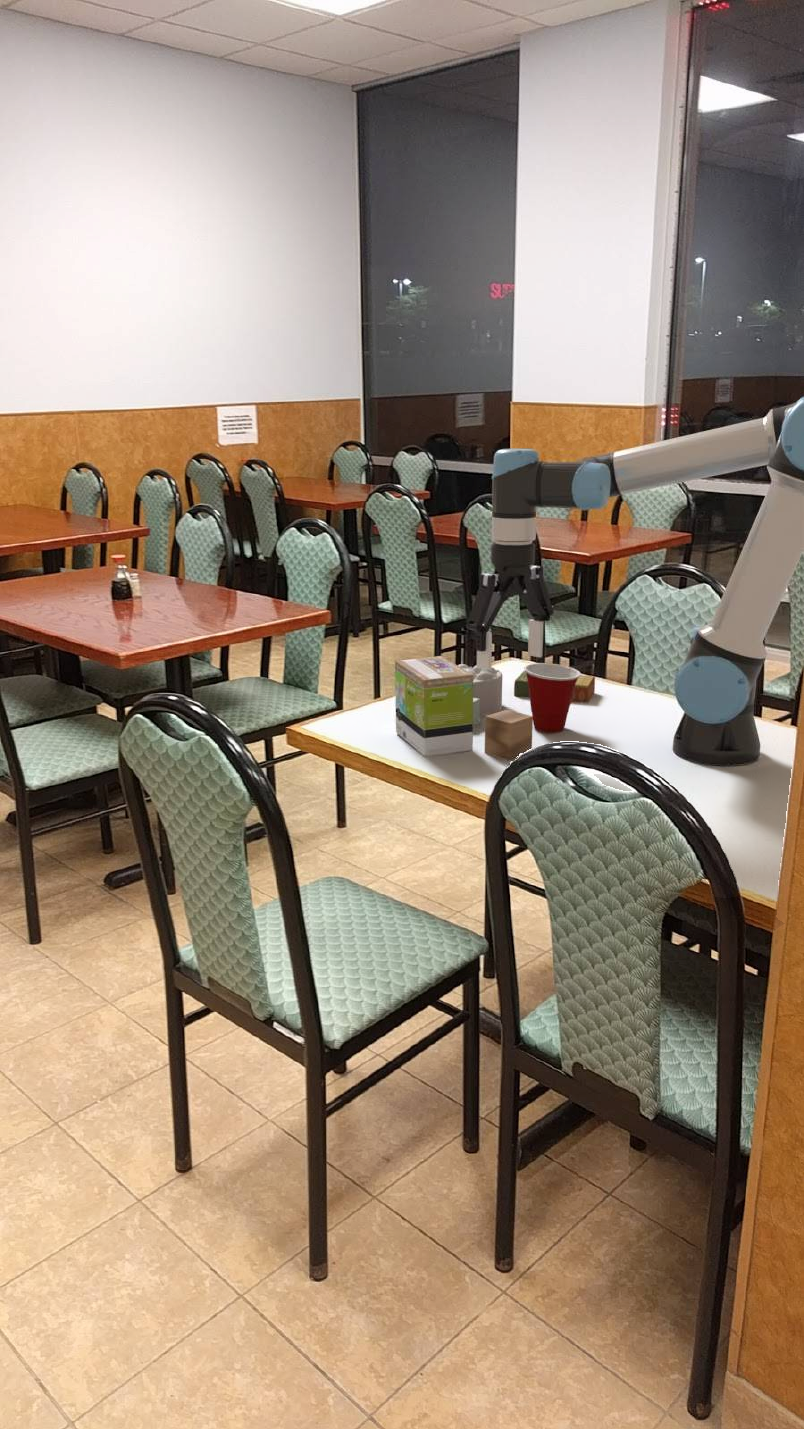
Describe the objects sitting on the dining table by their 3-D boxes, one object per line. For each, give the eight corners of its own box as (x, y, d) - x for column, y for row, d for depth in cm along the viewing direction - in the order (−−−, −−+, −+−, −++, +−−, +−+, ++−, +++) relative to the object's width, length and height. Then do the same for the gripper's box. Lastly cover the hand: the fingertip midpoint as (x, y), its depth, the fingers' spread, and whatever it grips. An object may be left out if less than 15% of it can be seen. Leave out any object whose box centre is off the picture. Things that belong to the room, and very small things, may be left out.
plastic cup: (577, 738, 203) (579, 676, 200) (519, 735, 206) (521, 674, 202) (579, 722, 214) (582, 663, 210) (524, 719, 216) (526, 660, 212)
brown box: (531, 753, 195) (532, 716, 193) (509, 761, 192) (510, 723, 189) (506, 745, 200) (507, 709, 198) (484, 753, 196) (485, 716, 194)
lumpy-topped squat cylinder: (433, 707, 224) (433, 667, 221) (481, 697, 231) (482, 658, 229) (465, 719, 216) (465, 677, 213) (514, 708, 223) (515, 667, 221)
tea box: (393, 734, 207) (393, 658, 202) (442, 728, 210) (442, 654, 206) (423, 758, 193) (423, 677, 189) (474, 751, 197) (475, 672, 192)
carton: (587, 704, 227) (588, 685, 226) (513, 698, 232) (513, 678, 231) (594, 694, 234) (595, 675, 233) (522, 688, 240) (522, 669, 238)
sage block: (479, 723, 213) (479, 698, 212) (467, 729, 209) (467, 704, 208) (456, 719, 216) (457, 695, 215) (444, 725, 212) (445, 701, 210)
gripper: (543, 533, 196) (539, 647, 202) (446, 546, 180) (445, 670, 186) (576, 537, 191) (571, 654, 197) (479, 551, 174) (477, 678, 180)
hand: (510, 662), depth 191 cm, fingers open, 13 cm apart
